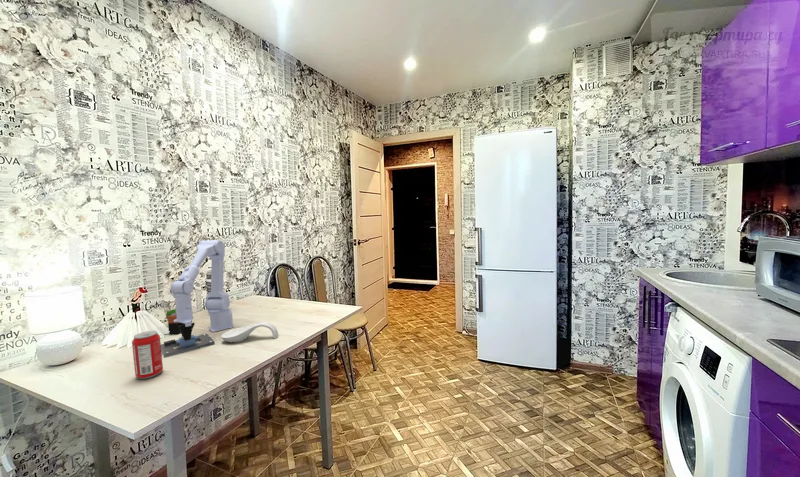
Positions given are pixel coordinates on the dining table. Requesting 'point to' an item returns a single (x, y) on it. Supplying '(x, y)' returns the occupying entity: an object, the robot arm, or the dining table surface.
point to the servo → (186, 343)
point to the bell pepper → (170, 312)
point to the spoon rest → (246, 332)
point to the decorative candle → (209, 283)
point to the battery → (173, 324)
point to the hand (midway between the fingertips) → (186, 338)
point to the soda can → (147, 354)
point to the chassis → (169, 350)
